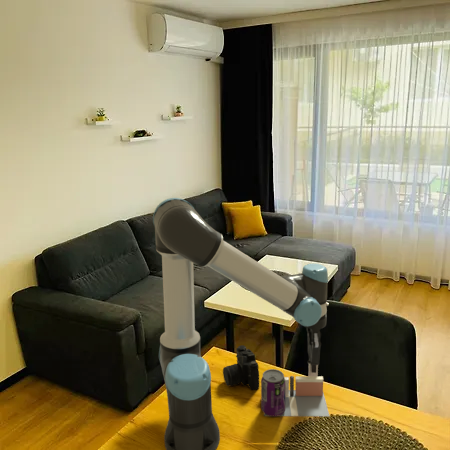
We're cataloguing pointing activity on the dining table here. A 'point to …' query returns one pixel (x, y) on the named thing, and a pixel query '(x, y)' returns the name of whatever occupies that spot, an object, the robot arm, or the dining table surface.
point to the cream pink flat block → (309, 386)
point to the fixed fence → (290, 386)
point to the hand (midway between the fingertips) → (312, 378)
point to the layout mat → (305, 406)
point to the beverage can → (273, 392)
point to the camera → (243, 370)
